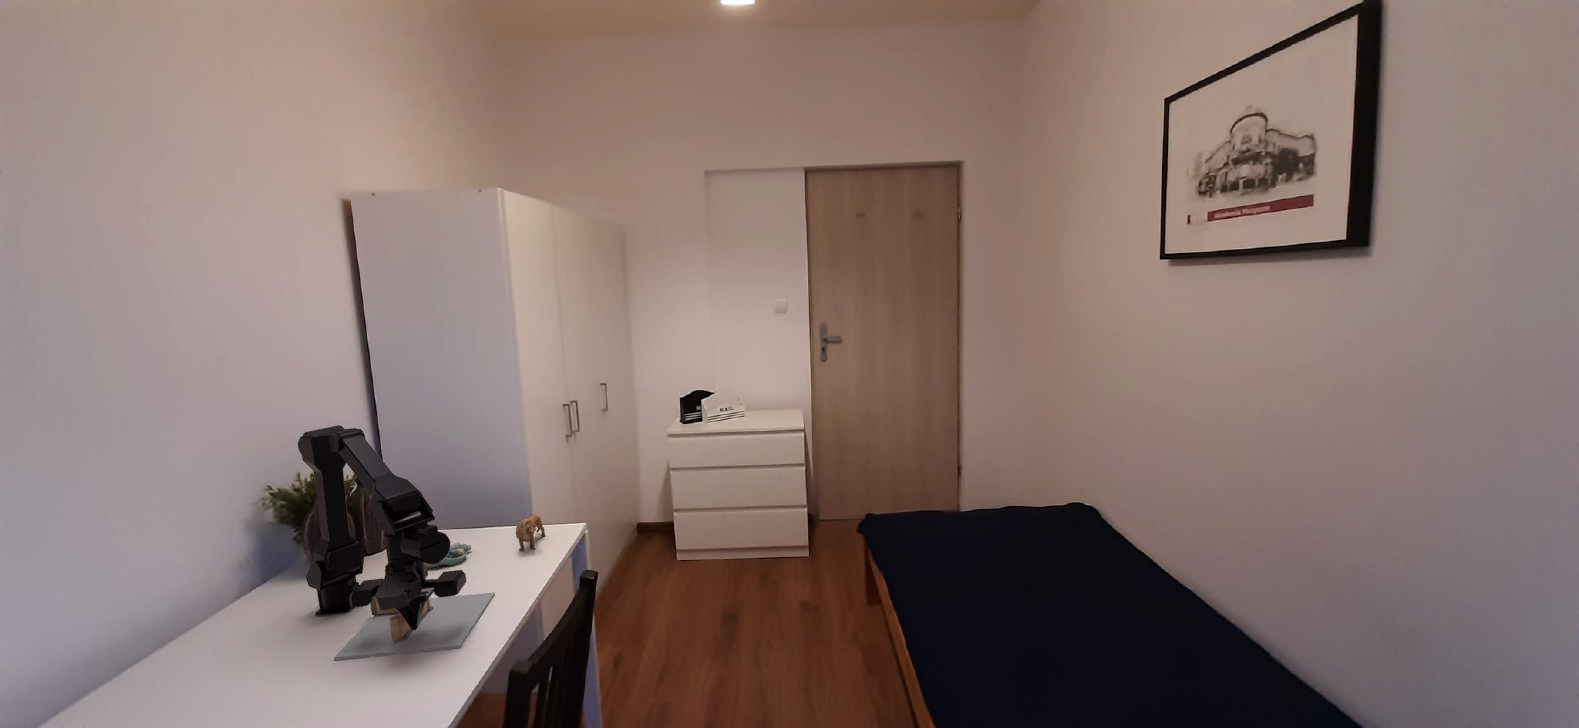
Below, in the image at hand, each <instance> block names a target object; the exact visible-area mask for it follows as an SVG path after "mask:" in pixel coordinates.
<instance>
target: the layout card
mask: <svg viewBox="0 0 1579 728" xmlns="http://www.w3.org/2000/svg"><path fill="white" fill-rule="evenodd" d="M495 595H496V593H495V592H485V593H475V594H474V593H473V594H464V595H463V594H462V595H455V596H449V597H440V598H439V597H430V598H429V601H430V609H428V610H427V611H426V612H425V613H424V615H423V616H422V617H421V619H420V623H419V626H418V628H417V630H412V629H411V628H410V629H409V631H408V632H407V633H406V634H405V635H404V636H403V637H402V639H401V640H399V641H397V642H393V641H392V635H391V628H390V620H389V618H390V617H392V616H395V615H397V614H398V613H399V612H397V613H386V614H377V615H372V616H373V617H371V618H370V620H368V621H367V623H365V625H363V626H362V628H360V630H359V631H357V633H355V635H354V636H353V637H352V638H351V639H350V640H349V641H348V643H347V644H345V646H344V647H342V649H341V650H339V651H338V652H337V654H336V655H335V656H334V657H333V660H334V661H344V660H355V659H364V658H373V657H374V658H375V657H382V656H383V657H384V656H392V655H393V656H394V655H404V654H413V653H415V654H416V653H422V652H423V653H426V652H434V651H445V650H453V649H460V648H462V647H463V644H464V643H465V641H466V640H467V638H468V637H469V635H471V633H472V631H473V630H474V628H475V627H476V624H478V623H479V620H480V619H481V617H482V615H484V612H485V610H486V609H487V608H488V607H489V604H490V603H491V602H492V600H493V598H494V597H495Z"/></svg>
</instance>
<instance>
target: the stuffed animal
mask: <svg viewBox="0 0 1579 728" xmlns="http://www.w3.org/2000/svg"><path fill="white" fill-rule="evenodd" d="M471 550H472V545H471V544H467V543H460V542H459V541H458V542H457V541H456V542H455V543H453V544H452V545H451V544H450V549H449V552H448V554H447V555H446V557H445V558H444V559H443V560H441V561H440V562H438V563H436V564H427V563H424V567H426V568H428V569H429V568H430V569H432V568H438V567H440V566H443V565H447V566H448V565H449V566H455V565H457V564H459V563H461V562H463V561H464V560H465V558H466V557H467V551H471ZM456 555H459V556H456ZM450 556H452V557H450ZM454 556H456V557H454Z"/></svg>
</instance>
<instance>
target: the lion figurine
mask: <svg viewBox="0 0 1579 728" xmlns="http://www.w3.org/2000/svg"><path fill="white" fill-rule="evenodd" d="M540 531H541V534H540V537H543V538H544V537H545V536H546V531H545V528H544V526H543V522H542V519H541V517H540V516H539V515H537V514H534V515H531V516H529V517H528V518H523V519H521V520H520V521H519V522H517V525H516V527H515V537H516V539H518V544H519V546H520V548H519V549H518V551H519V552H520V553H522V552H524V551H525V544H524V543H527V542H529V549H530V550H531V551H535V550H536V549H537V548H536V547H535V537H534V536H535V532H536V533H539V532H540Z"/></svg>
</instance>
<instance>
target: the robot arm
mask: <svg viewBox="0 0 1579 728" xmlns="http://www.w3.org/2000/svg"><path fill="white" fill-rule="evenodd" d="M297 449H298V452H299V453H300V454H301V459H302V461H303V462H304V463H305V465H307V466H308V467H309V468H310V469H311V470H312V472H313V473H314V474H313V475H314V483H315V485H314V486H315V494H316V502H317V510H318V511H317V512H318V517H319V518H318V519H319V530H320V539H319V540H318V543H317V544H316V546H315V548H314V549H313V552H312V564H311V566H310V568H309V569H308V571H307V573H306V575H305V579H306V580H305V581H306V583H307V586H308V587H310V588H311V589H315V590H316V593H317V594H316V595H317V600H318V606H319V609H318V610H317V611H315V612H314V615H315V616H325V615H335V614H346V613H349V612H350V611H351V610H352V609H354V608H360V607H361V608H362V607H368V606H370V603H371V601H372V600H373V598H372V597H375V598H376V600H377V602H378V605H379V607H380V609H381V610H387V609H391V608H395V609H397V610H398V611H399V612H400V613H401V614H402V616H403V617H404V619H405V620H406V622H407V623H408V625H409V626H410V628H411V629H412V630H417V628H418V626H419V623H420V619H421V616H422V613H423V609H424V606H425V603H426V601H427V600H428V599H429V598H431V596H432V595H433V594H434V595H435V596H436V597H437V598H440V597H450V596H458V595H459V593H460V592H461V590H462V589H463V587H464V586H465V584H466V583H467V582H468V581H467V575H466V572H464V571H463V569H457V570H456V569H455V570H447V571H442V573H441V574H440V575H439V576H438V578H435V579H434V578H428V579H427V577H428V576H429V572H428V569H425V565H424V563H427V564H436V563H438V562H440V561H441V560H443V559H444V558H445V557H446V555H447V554H448V552H449V549H450V546H451V539H450V538H449V536H448V535H447V533H444V532H443V531H439V527H438V525H435V524H428V523H431V522H432V521H435V519H436V517H435V515H434V513H433V511H434V510H433V508H432V507H431V505H430V504H429V503H428V501H427V500H426V499H425V497H424V495H423V494H422V491H420V490H419V488H417V486H415V485H414V484H413V483H411V481H410V480H408V478H407V479H406V478H403V477H400V476H397V475H395V474H394V473H393V471H392V470H391V469H390V468H389V467H388V465H387V464H386V463H385V462H384V460H383V459H382V458H381V456H379V454H378V453H377V452H376V450H375V449H374V447H372V445H370V443H369V441H367V438H366V435H365V433H364V430H362V429H361V428H356V427H351V428H344V427H343V426H342V425H339V424H338V425H333V426H332V425H331V426H327V427H323V428H318V429H313V430H308V431H304V433H302V436H300V437H299V439H298V441H297ZM346 465H347V466H348V467H349V468H350V470H351V471H352V472H353V474H354V475H355V476H356V478H358V480H359V481H360V483H361V484H362V485H363V486H364V488H365V489H366V491H367V492H368V493H369V495H370V496H369V504H368V505H369V507H370V509H371V512H372V514H373V516H374V518H375V519H376V520H377V522H378V523H379V525H378V528H377V529H378V530H379V531H383V537H384V543H385V550H386V558H387V559H386V560H387V563H386V565H385V567H384V568H385V569H384V578H374V579H366V580H364V579H363V580H362V581H361V583H360V582H359V581H357V576H359V575H362V574H363V572H364V562H365V554H364V552H363V544H362V543H361V542H360V541H358V540H356V538H354V537H353V536H352V535H351V533H350V525H349V514H348V513H349V512H348V504H347V496H346V495H347V494H346V486H345V485H346V483H345V475H344V468H345V466H346ZM418 514H419V515H418ZM413 516H414V517H413ZM407 518H408V519H407Z"/></svg>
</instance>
